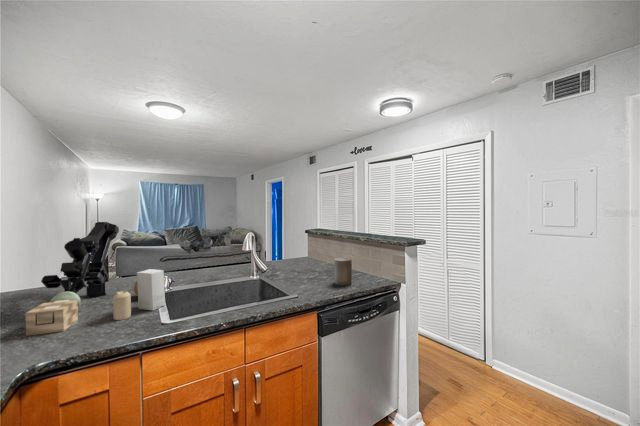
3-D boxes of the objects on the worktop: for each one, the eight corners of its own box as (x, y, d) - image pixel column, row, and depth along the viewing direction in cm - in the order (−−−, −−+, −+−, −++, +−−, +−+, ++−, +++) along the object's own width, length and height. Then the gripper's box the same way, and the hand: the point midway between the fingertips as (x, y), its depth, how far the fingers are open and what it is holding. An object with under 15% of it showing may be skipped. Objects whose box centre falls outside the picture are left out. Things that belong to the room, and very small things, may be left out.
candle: (112, 321, 103) (111, 294, 103) (115, 316, 108) (114, 290, 108) (130, 318, 106) (129, 292, 106) (132, 313, 111) (131, 288, 111)
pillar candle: (355, 283, 154) (355, 256, 154) (343, 287, 147) (343, 258, 147) (342, 280, 161) (342, 254, 161) (330, 283, 154) (330, 256, 154)
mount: (44, 323, 102) (43, 302, 101) (78, 319, 105) (77, 299, 105) (26, 335, 92) (25, 313, 92) (63, 331, 95) (63, 309, 95)
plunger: (52, 316, 105) (51, 292, 105) (81, 313, 108) (80, 290, 108) (27, 332, 92) (26, 305, 92) (61, 328, 95) (60, 302, 95)
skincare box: (165, 305, 119) (165, 269, 119) (151, 311, 113) (151, 273, 112) (151, 303, 122) (150, 268, 121) (136, 308, 116) (136, 271, 115)
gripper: (43, 255, 108) (25, 291, 98) (100, 252, 115) (89, 286, 105) (55, 270, 116) (39, 306, 106) (108, 267, 122) (98, 300, 112)
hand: (66, 299), depth 107 cm, fingers closed, pressing on plunger
